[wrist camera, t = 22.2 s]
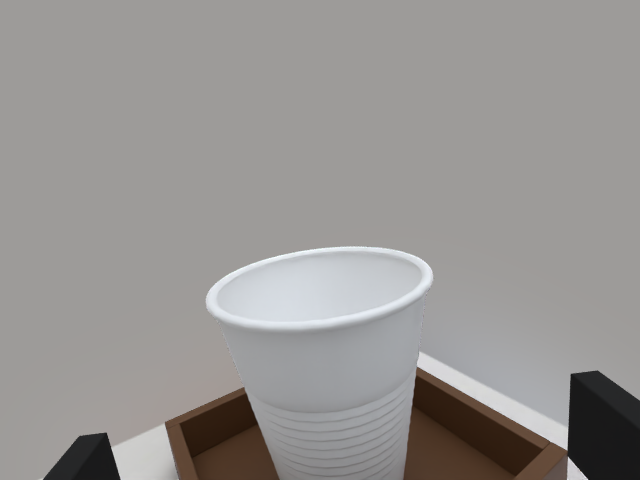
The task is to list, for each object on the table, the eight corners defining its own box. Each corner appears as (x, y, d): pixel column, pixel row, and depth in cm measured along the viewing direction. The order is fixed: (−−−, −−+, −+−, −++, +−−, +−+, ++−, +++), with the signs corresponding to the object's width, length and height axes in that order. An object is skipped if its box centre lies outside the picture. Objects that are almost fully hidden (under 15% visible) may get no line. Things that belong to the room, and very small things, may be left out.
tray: (566, 506, 16) (568, 450, 15) (282, 850, 9) (263, 772, 8) (364, 369, 28) (360, 334, 27) (175, 465, 21) (164, 421, 20)
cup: (445, 626, 12) (429, 333, 10) (205, 551, 15) (149, 319, 13) (443, 419, 21) (435, 242, 19) (292, 400, 24) (269, 248, 22)
